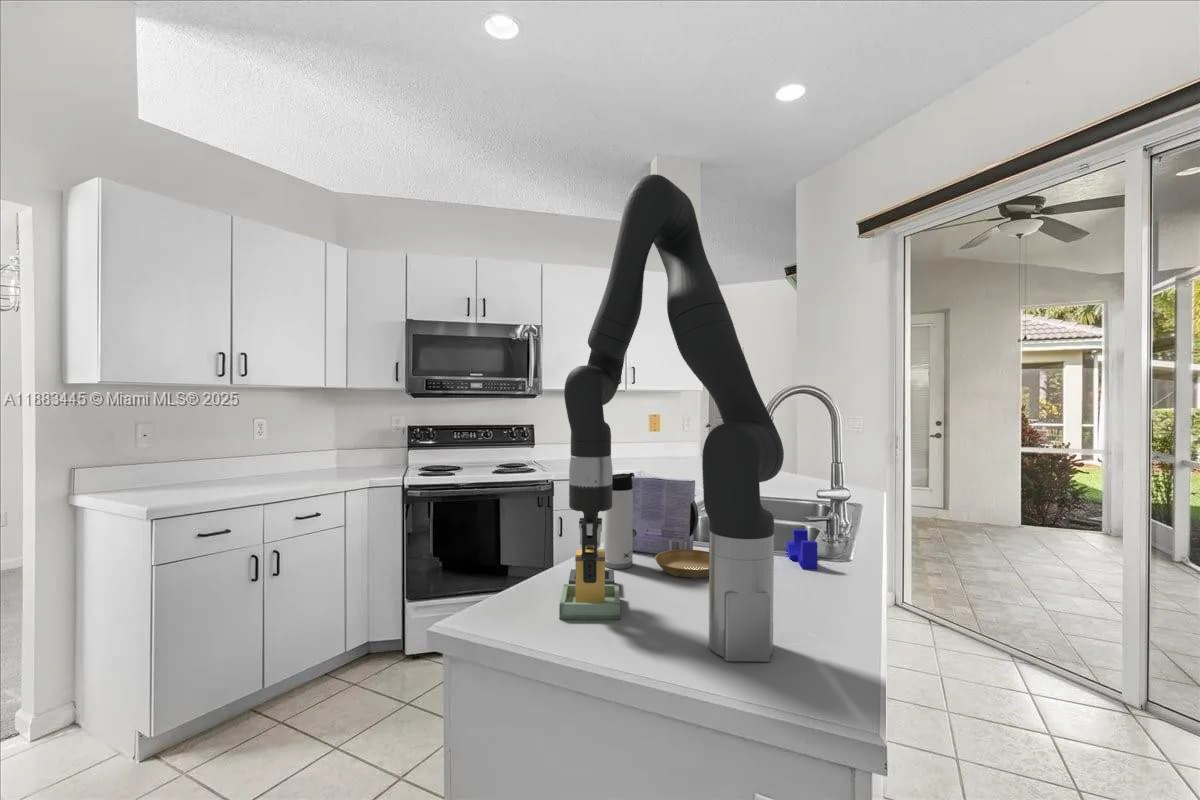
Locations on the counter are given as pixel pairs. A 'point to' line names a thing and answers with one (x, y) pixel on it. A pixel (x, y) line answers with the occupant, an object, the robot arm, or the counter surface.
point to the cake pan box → (663, 514)
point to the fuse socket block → (608, 577)
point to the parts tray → (589, 605)
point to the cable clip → (802, 550)
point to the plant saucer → (684, 562)
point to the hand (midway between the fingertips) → (590, 574)
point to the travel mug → (619, 524)
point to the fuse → (590, 590)
